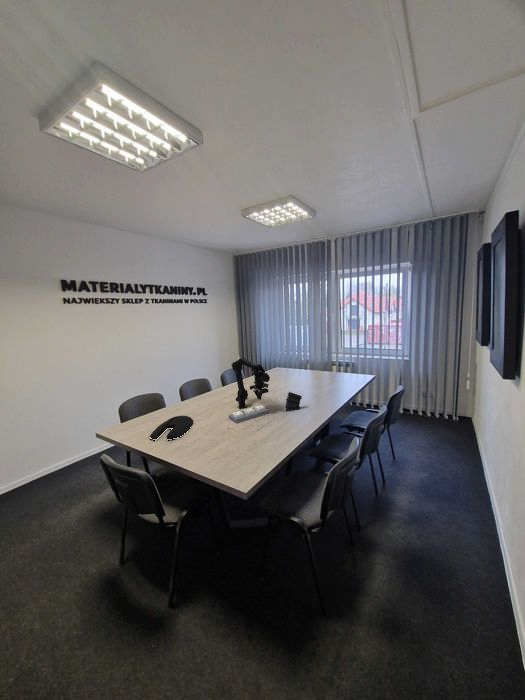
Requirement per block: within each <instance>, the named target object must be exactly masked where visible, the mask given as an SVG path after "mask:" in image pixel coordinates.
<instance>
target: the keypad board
mask: <svg viewBox="0 0 525 700" xmlns="http://www.w3.org/2000/svg"><path fill="white" fill-rule="evenodd" d="M252 409H254V410H255V407H253V408H252ZM241 412H242V413H243V414H244V416H242V417H238V418H235V417H234V416H233V413H231V414H228V419H229V420H230V421H232V422H233V423H235V424H240V423H244V422H246V421H249V420H252V419H256V418H258V417H263V416H265V415H269V414H270V413H271V409H269V408H266V407H265V410H262V411H257V410H255V413H252V414H249V415H248V414H246V413H244V410H242V411H241Z"/></svg>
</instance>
